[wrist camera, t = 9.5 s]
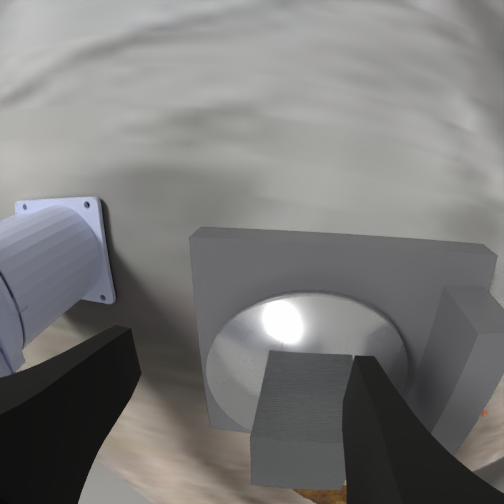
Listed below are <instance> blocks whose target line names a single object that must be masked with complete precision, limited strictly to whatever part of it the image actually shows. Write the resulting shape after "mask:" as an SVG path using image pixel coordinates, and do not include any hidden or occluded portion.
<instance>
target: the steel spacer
mask: <svg viewBox="0 0 504 504" xmlns="http://www.w3.org/2000/svg"><path fill="white" fill-rule="evenodd" d="M352 365H353V357H352V355H348V354H321V353H302V352H286V351H273V350H269V354H268V359H267V363H266V368H265V373H264V377H263V382H262V387H261V391H260V396H259V400H258V405H257V409H256V414H255V418H254V423H253V427H252V431H251V436H250V451H251V483H252V485H258V486H267V487H278V488H291V489H310V490H341V489H342V487H343V485H344V482H345V480H346V472H345V459H344V447H343V435H342V408H343V398H344V395H345V391H346V388H347V384H348V380H349V376H350V373H351V369H352Z"/></svg>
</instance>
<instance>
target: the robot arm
mask: <svg viewBox="0 0 504 504" xmlns="http://www.w3.org/2000/svg"><path fill="white" fill-rule="evenodd" d="M87 202H89V204H90V207H89V206H88V204H87ZM26 206H27V207H26ZM15 212H16V215H13V216H11V217H8V218H6V219H4V220H1V221H0V504H78V501H79V498H80V495H81V492H82V489H83V486H84V484H85V481H86V479H87V476H88V473H89V471H90V469H91V466H92V464H93V462H94V459H95V457H96V455H97V453H98V451H99V449H100V447H101V445H102V444H103V442H104V440H105V439H106V437H107V435H108V434H109V432H110V431H111V429H112V427H113V426H114V424H115V423H116V421H117V419H118V418H119V416H120V415H121V413H122V411H123V410H124V408H125V407H126V405H127V403H128V402H129V400H130V398H131V396H132V394H133V392H134V390H135V388H136V385H137V383H138V381H139V378H140V376H141V370H140V366H139V362H138V358H137V353H136V349H135V345H134V340H133V336H132V331H131V328H126V327H121V326H114V327H112V328H109V329H107V330H105V331H103V332H101V333H99V334H97V335H95V336H94V337H92V338H90V339H88V340H86V341H84V342H82V343H80V344H79V345H77V346H75V347H73V348H71V349H69V350H67V351H65V352H63V353H61V354H59V355H57V356H55V357H53V358H51V359H49V360H47V361H44V362H42V363H40V364H38V365H36V366H33V367H31V368H28V369H26V370H23V371H20V372H17V373H16V372H15V371H16V370H18V369H19V368H20V367H21V366H22V365H23V364H24V363H25V358H24V356H23V352H22V350H23V349H24V348H25V347H26V346H27V345H28V344H29V343H30V342H32V341H33V340H34V339H35V338H36V337H37V336H38V335H39V334H41V333H42V332H43V331H44V330H45V329H46V328H47V327H48V326H50V325H51V324H52V323H53V322H54V321H55V320H56V319H58V318H59V317H60V316H61V315H62V314H63V313H65V312H66V311H67V310H68V309H69V308H71V307H72V306H73V305H74V304H75V303H76V302H78V301H79V300H80V299H82V300H88V301H94V302H99V303H105V304H113V303H114V302H115V300H116V296H115V291H114V286H113V280H112V275H111V269H110V264H109V258H108V251H107V245H106V238H105V231H104V224H103V216H102V208H101V202H100V200H99V198H97V197H71V198H52V199H35V200H20V201H17V202H16V203H15ZM103 295H104V296H105V298H104V297H103ZM342 435H343V447H344V459H345V472H346V487H347V500H346V504H504V493H502V492H500V491H499V490H497V489H496V488H494V487H493V486H490V484H488V483H486V482H485V481H484V480H482V479H481V478H479V477H478V476H477V475H475V474H474V473H473V472H471V471H470V470H469V469H468V468H467V467H465V466H464V465H463V464H462V463H461V462H459V461H458V460H457V459H456V458H455V457H454V456H453V455H451V454H450V453H449V452H448V451H447V450H446V449H445V448H444V447H443V446H442V445H441V444H440V443H439V442H438V441H437V440H436V439H435V438H434V437H433V436H432V434H431V433H430V432H429V431H428V430H427V429H426V428H425V426H424V425H423V424H422V423H421V421H420V420H419V419H418V418H417V417H416V415H415V414H414V413H413V411H412V410H411V409H410V407H409V406H408V405H407V403H406V402H405V400H404V399H403V398H402V396H401V395H400V394H399V392H398V391H397V389H396V388H395V386H394V385H393V383H392V382H391V380H390V379H389V377H388V376H387V374H386V373H385V371H384V370H383V368H382V367H381V365H380V364H379V362H378V361H377V359H376V358H375V356H360V355H355V357H354V361H353V365H352V369H351V373H350V376H349V380H348V384H347V388H346V391H345V395H344V398H343V408H342Z"/></svg>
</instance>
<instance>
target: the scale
mask: <svg viewBox="0 0 504 504" xmlns="http://www.w3.org/2000/svg"><path fill="white" fill-rule="evenodd" d="M189 240H190V254H191V267H192V279H193V290H194V301H195V311H196V321H197V330H198V339H199V348H200V356H201V364H202V372H203V380H204V387H205V395H206V402H207V409H208V416H209V422H210V427H212V428H218V429H224V430H231V431H237V432H245V433H251V431H250V430H248V429H246V428H245V427H243V426H241V425H240V424H238V423H237V422H236V421H234V420H233V419H232V418H231V417H229V416H228V415H227V414H226V413H225V412H224V411H223V410H222V408H221V407H220V406H219V405H218V403H217V402H216V400H215V399H214V397H213V395H212V393H211V391H210V388H209V385H208V381H207V376H206V363H207V357H208V354H209V351H210V348H211V346H212V344H213V341H214V339H215V337H216V336H217V334H218V332H219V330H220V329H221V328H222V326H223V325H224V324H225V323H226V321H227V320H228V319H230V318H231V317H232V316H233V315H234V314H235V313H236V312H238V311H239V310H241V309H242V308H244V307H245V306H247V305H249V304H251V303H253V302H255V301H256V300H258V299H261V298H264V297H267V296H270V295H273V294H277V293H281V292H286V291H294V290H325V291H333V292H338V293H342V294H346V295H349V296H352V297H354V298H357V299H360V300H362V301H364V302H366V303H368V304H369V305H371V306H373V307H374V308H376V309H377V310H378V311H380V312H381V313H382V314H384V315H385V316H386V317H387V318H388V320H389V321H390V322H391V323H392V324H393V326H394V327H395V328H396V330H397V331H398V333H399V335H400V338H401V340H402V342H403V345H404V348H405V351H406V355H407V359H408V374H407V380H406V384H405V387H404V389H403V391H402V394H401V396H402V398H403V399H404V400H405V402H406V403H407V405H408V406H409V407H410V409H411V410H412V411H413V413H414V414H415V415H416V417H417V418H418V419H419V420H420V421H421V423H422V424H423V425H424V426H425V428H426V429H427V430H428V431H429V432H430V433H431V434H432V436H433V437H434V438H435V439H436V440H437V441H438V442H439V443H440V444H441V445H442V446H443V447H444V448H445V449H446V450H447V451H448V452H449V453H450V454H451V455H454V454H455V453H456V451H457V450H458V448H459V447H460V445H461V444H462V443H463V441H464V440H465V438H466V437H467V435H468V434H469V432H470V431H471V429H472V428H473V426H474V425H475V423H476V421H477V420H478V418H479V417H480V416H481V415H482V416H485V415H486V413H487V411H486V409H485V408H486V405H487V403H488V401H489V400H490V398H491V396H492V394H493V393H494V391H495V389H496V387H497V385H498V383H499V381H500V379H501V377H502V376H503V374H504V309H503V307H502V306H501V305H500V304H499V303H498V302H497V301H496V299H495V298H494V297H493V296H492V295H491V294H490V293H489V292H488V291H489V288H490V284H491V280H492V277H493V273H494V269H495V265H496V261H497V257H498V256H497V255H496V254H495V253H494V252H492V251H491V250H490V249H489V248H487V247H486V246H485V245H484V244H473V243H462V242H449V241H437V240H424V239H410V238H396V237H382V236H367V235H351V234H335V233H318V232H300V231H280V230H260V229H238V228H214V227H200V228H199V229H198V230H197V231H196V232H195V233H193V234H192V235H191V236H190V237H189Z"/></svg>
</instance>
